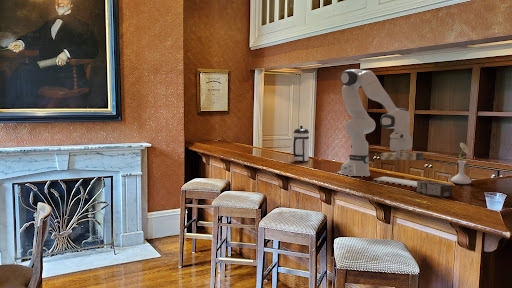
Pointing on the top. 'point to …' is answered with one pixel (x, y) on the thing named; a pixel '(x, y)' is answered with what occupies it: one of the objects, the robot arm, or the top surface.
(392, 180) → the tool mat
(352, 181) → the top surface
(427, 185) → the coffee box
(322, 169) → the top surface
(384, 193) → the top surface
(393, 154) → the mottled brown bar
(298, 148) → the coffee press
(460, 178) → the flower in vase
